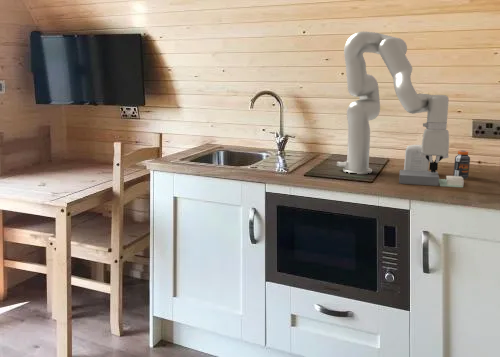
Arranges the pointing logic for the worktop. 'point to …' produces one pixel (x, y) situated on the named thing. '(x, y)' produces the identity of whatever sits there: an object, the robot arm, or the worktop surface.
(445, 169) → the worktop surface
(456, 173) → the pill bottle
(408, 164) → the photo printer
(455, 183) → the tile
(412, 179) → the plate
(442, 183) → the mat
